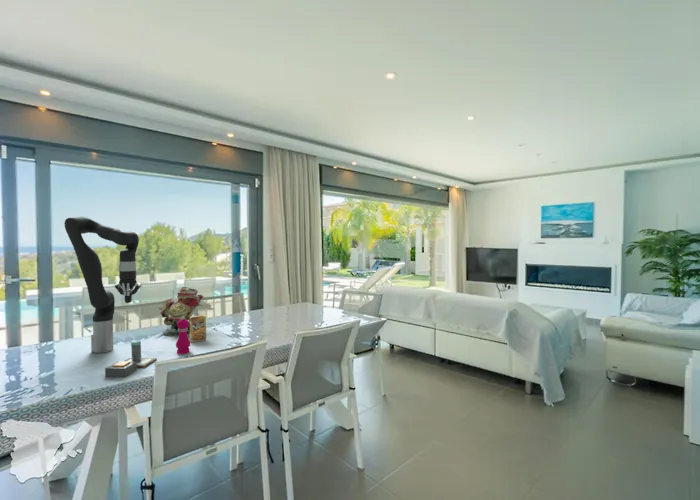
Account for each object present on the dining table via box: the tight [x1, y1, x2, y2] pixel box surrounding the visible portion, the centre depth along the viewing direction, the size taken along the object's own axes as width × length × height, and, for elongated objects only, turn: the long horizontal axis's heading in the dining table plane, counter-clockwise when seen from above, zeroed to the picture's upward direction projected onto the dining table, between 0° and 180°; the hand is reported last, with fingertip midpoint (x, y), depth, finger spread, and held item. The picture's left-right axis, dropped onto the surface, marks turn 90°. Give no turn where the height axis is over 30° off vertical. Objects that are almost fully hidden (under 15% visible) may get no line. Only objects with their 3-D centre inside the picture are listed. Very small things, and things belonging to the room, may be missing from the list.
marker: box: [130, 340, 142, 363], centre depth 175 cm, size 4×4×10 cm
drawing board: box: [124, 357, 157, 369], centre depth 176 cm, size 14×11×1 cm
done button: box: [111, 361, 130, 367], centre depth 164 cm, size 5×5×4 cm
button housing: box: [104, 360, 138, 378], centre depth 164 cm, size 9×9×4 cm
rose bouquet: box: [158, 286, 207, 337], centre depth 237 cm, size 26×29×30 cm
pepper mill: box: [175, 317, 191, 355], centre depth 194 cm, size 7×7×20 cm
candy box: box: [189, 314, 207, 343], centre depth 216 cm, size 9×4×15 cm, turn 125°
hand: (128, 302), depth 185 cm, fingers closed
